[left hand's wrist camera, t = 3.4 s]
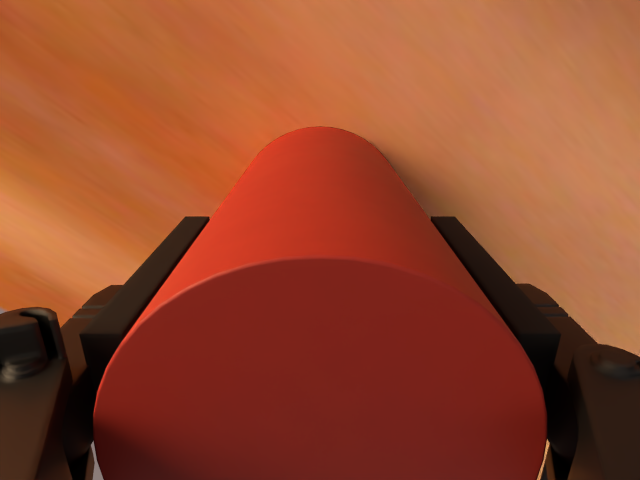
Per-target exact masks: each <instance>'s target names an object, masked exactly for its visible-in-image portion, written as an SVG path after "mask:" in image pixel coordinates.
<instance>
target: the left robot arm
mask: <svg viewBox="0 0 640 480" xmlns="http://www.w3.org/2000/svg"><path fill="white" fill-rule="evenodd" d="M209 221H210V219H209V217H185V218H184V219H183V220H182V221H181V222H180V223H179V224H178V226H177V227H176V228H175V229H174V230H173V231H172V232H171V233H170V234H169V235H168V237H167V238H166V239H165V240H164V241H163V242H162V243H161V244H160V245H159V246H158V248H157V249H156V250H155V251H154V252H153V253H152V254H151V255H150V256H149V258H148V259H147V260H146V261H145V262H144V263H143V264H142V265H141V266H140V267H139V269H138V270H137V271H136V272H135V273H134V274H133V275H132V276H131V277H130V278H129V280H128V281H127V282H126V283H125V284H124V285H111V286H109V287H107V288H105V289H103V290H102V291H100V292H98V293H96V294H94V295H93V296H92V297H91V298H90V299H89V300H88V301H87V302H86V303H85V304H84V305H83V306H82V309H79V310H78V311H77V312H76V313H75V314H74V315H73V318H70V319H69V320H68V321H67V322H66V323H65V324H64V325H63V326H62V327H61V328H60V326H59V322H58V318H57V315H56V313H55V312H54V311H52V310H51V309H49V308H41V307H31V308H21V309H17V310H13V311H8V312H5V313H2V314H0V480H92V479H93V471H94V457H93V452H92V448H91V444H92V442H93V413H94V408H95V402H96V397H97V391H98V388H99V385H100V383H101V380H102V377H103V375H104V372H105V369H106V367H107V365H108V363H109V362H110V360H111V358H112V357H113V355H114V353H115V351H116V350H117V348H118V346H119V345H120V343H121V342H122V340H123V339H124V338H125V336H126V335H127V334H128V332H129V331H130V329H131V328H132V327H133V325H134V324H135V323H136V321H137V320H138V318H139V317H140V316H141V314H142V313H143V312H144V310H145V309H146V307H147V306H148V305H149V303H150V302H151V301H152V299H153V298H154V296H155V295H156V294H157V292H158V291H159V289H160V288H161V287H162V285H163V284H164V283H165V281H166V280H167V278H168V277H169V276H170V274H171V273H172V272H173V270H174V269H175V267H176V266H177V265H178V263H179V262H180V261H181V259H182V258H183V256H184V255H185V254H186V252H187V251H188V250H189V248H190V247H191V245H192V244H193V243H194V241H195V240H196V239H197V237H198V236H199V234H200V233H201V232H202V230H203V229H204V228H205V226H206V225H207V223H208V222H209ZM431 222H432V223H433V224H434V226H435V227H436V229H437V230H438V231H439V233H440V234H441V235H442V237H443V238H444V240H445V241H446V242H447V244H448V245H449V246H450V248H451V249H452V251H453V252H454V253H455V255H456V256H457V257H458V259H459V260H460V262H461V263H462V264H463V266H464V267H465V268H466V270H467V271H468V273H469V274H470V275H471V277H472V278H473V279H474V281H475V282H476V284H477V285H478V286H479V288H480V289H481V290H482V292H483V293H484V295H485V296H486V297H487V299H488V300H489V301H490V303H491V304H492V306H493V307H494V308H495V310H496V311H497V312H498V314H499V315H500V317H501V318H502V319H503V321H504V322H505V323H506V325H507V326H508V328H509V329H510V330H511V332H512V333H513V334H514V336H515V337H516V339H517V340H518V341H519V343H520V344H521V346H522V347H523V349H524V351H525V353H526V354H527V356H528V358H529V359H530V361H531V363H532V364H533V366H534V368H535V371H536V374H537V376H538V379H539V382H540V384H541V387H542V390H543V395H544V400H545V406H546V411H547V439H548V441H549V443H550V444H549V448H548V452H547V456H546V460H545V463H544V467H543V471H542V475H541V479H540V480H640V357H639V356H637V355H634V354H632V353H630V352H628V351H625V350H623V349H620V348H616V347H613V346H609V345H602V344H598V343H597V342H596V341H594V340H593V339H592V338H591V337H590V336H589V335H588V334H587V333H586V332H585V331H584V330H583V329H582V328H581V327H580V326H579V325H578V324H577V323H576V322H575V321H574V320H573V319H572V318H571V317H568V314H567V313H566V312H565V311H564V310H563V309H562V308H561V307H559V305H558V304H557V303H556V302H555V301H554V300H553V299H552V298H551V297H550V296H549V295H548V294H547V293H545V292H543V291H542V290H540V289H538V288H536V287H534V286H532V285H531V284H515V283H514V281H513V280H512V279H511V278H510V277H509V276H508V275H507V274H506V273H505V272H504V270H503V269H502V268H501V267H500V266H499V265H498V264H497V263H496V262H495V261H494V259H493V258H492V257H491V256H490V255H489V254H488V253H487V252H486V251H485V249H484V248H483V247H482V246H481V245H480V244H479V243H478V242H477V241H476V240H475V238H474V237H473V236H472V235H471V234H470V233H469V232H468V231H467V230H466V229H465V227H464V226H463V225H462V224H461V223H460V222H459V221H458V220H457V219H456V218H455V217H431Z"/></svg>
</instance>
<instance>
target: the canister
mask: <svg viewBox="0 0 640 480" xmlns="http://www.w3.org/2000/svg"><path fill="white" fill-rule="evenodd" d="M93 440H94V446H95V451H96V457H97V462H98V464H99V467H100V470H101V473H102V476H103V479H104V480H537V477H538V474H539V471H540V468H541V465H542V463H543V459H544V453H545V448H546V442H547V411H546V406H545V400H544V395H543V390H542V387H541V384H540V382H539V379H538V376H537V374H536V371H535V368H534V366H533V364H532V363H531V361H530V359H529V358H528V356H527V354H526V353H525V351H524V349H523V347H522V346H521V344H520V343H519V341H518V340H517V339H516V337H515V336H514V334H513V333H512V332H511V330H510V329H509V328H508V326H507V325H506V323H505V322H504V321H503V319H502V318H501V317H500V315H499V314H498V312H497V311H496V310H495V308H494V307H493V306H492V304H491V303H490V301H489V300H488V299H487V297H486V296H485V295H484V293H483V292H482V290H481V289H480V288H479V286H478V285H477V284H476V282H475V281H474V279H473V278H472V277H471V275H470V274H469V273H468V271H467V270H466V268H465V267H464V266H463V264H462V263H461V262H460V260H459V259H458V257H457V256H456V255H455V253H454V252H453V251H452V249H451V248H450V246H449V245H448V244H447V242H446V241H445V240H444V238H443V237H442V235H441V234H440V233H439V231H438V230H437V229H436V227H435V226H434V224H433V223H432V222H431V220H430V219H429V218H428V216H427V215H426V213H425V212H424V211H423V209H422V208H421V207H420V205H419V204H418V202H417V201H416V200H415V198H414V197H413V196H412V194H411V193H410V191H409V190H408V189H407V187H406V186H405V185H404V183H403V182H402V180H401V179H400V178H399V176H398V175H397V174H396V172H395V171H394V169H393V168H392V167H391V165H390V164H389V163H388V161H387V160H386V159H385V158H384V156H383V155H382V154H381V153H380V152H379V151H378V150H377V149H376V148H375V147H374V146H373V145H372V144H370V143H369V142H367V141H366V140H365V139H363V138H361V137H359V136H357V135H355V134H353V133H351V132H348V131H345V130H342V129H337V128H332V127H308V128H303V129H299V130H295V131H292V132H290V133H287V134H285V135H283V136H281V137H279V138H277V139H276V140H274V141H273V142H271V143H270V144H268V145H267V146H266V147H265V148H264V149H263V150H262V151H261V152H260V153H259V154H258V155H257V156H256V158H255V159H254V160H253V161H252V163H251V164H250V166H249V167H248V168H247V170H246V171H245V172H244V174H243V175H242V177H241V178H240V179H239V181H238V182H237V183H236V185H235V186H234V188H233V189H232V190H231V192H230V193H229V195H228V196H227V197H226V199H225V200H224V201H223V203H222V204H221V206H220V207H219V208H218V210H217V211H216V212H215V214H214V215H213V217H212V218H211V219H210V221H209V222H208V223H207V225H206V226H205V228H204V229H203V230H202V232H201V233H200V234H199V236H198V237H197V239H196V240H195V241H194V243H193V244H192V245H191V247H190V248H189V250H188V251H187V252H186V254H185V255H184V256H183V258H182V259H181V261H180V262H179V263H178V265H177V266H176V267H175V269H174V270H173V272H172V273H171V274H170V276H169V277H168V278H167V280H166V281H165V283H164V284H163V285H162V287H161V288H160V289H159V291H158V292H157V294H156V295H155V296H154V298H153V299H152V301H151V302H150V303H149V305H148V306H147V307H146V309H145V310H144V312H143V313H142V314H141V316H140V317H139V318H138V320H137V321H136V323H135V324H134V325H133V327H132V328H131V329H130V331H129V332H128V334H127V335H126V336H125V338H124V339H123V340H122V342H121V343H120V345H119V346H118V348H117V350H116V351H115V353H114V355H113V357H112V358H111V360H110V362H109V363H108V365H107V367H106V369H105V372H104V375H103V377H102V380H101V383H100V385H99V388H98V391H97V397H96V402H95V408H94V413H93Z"/></svg>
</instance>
